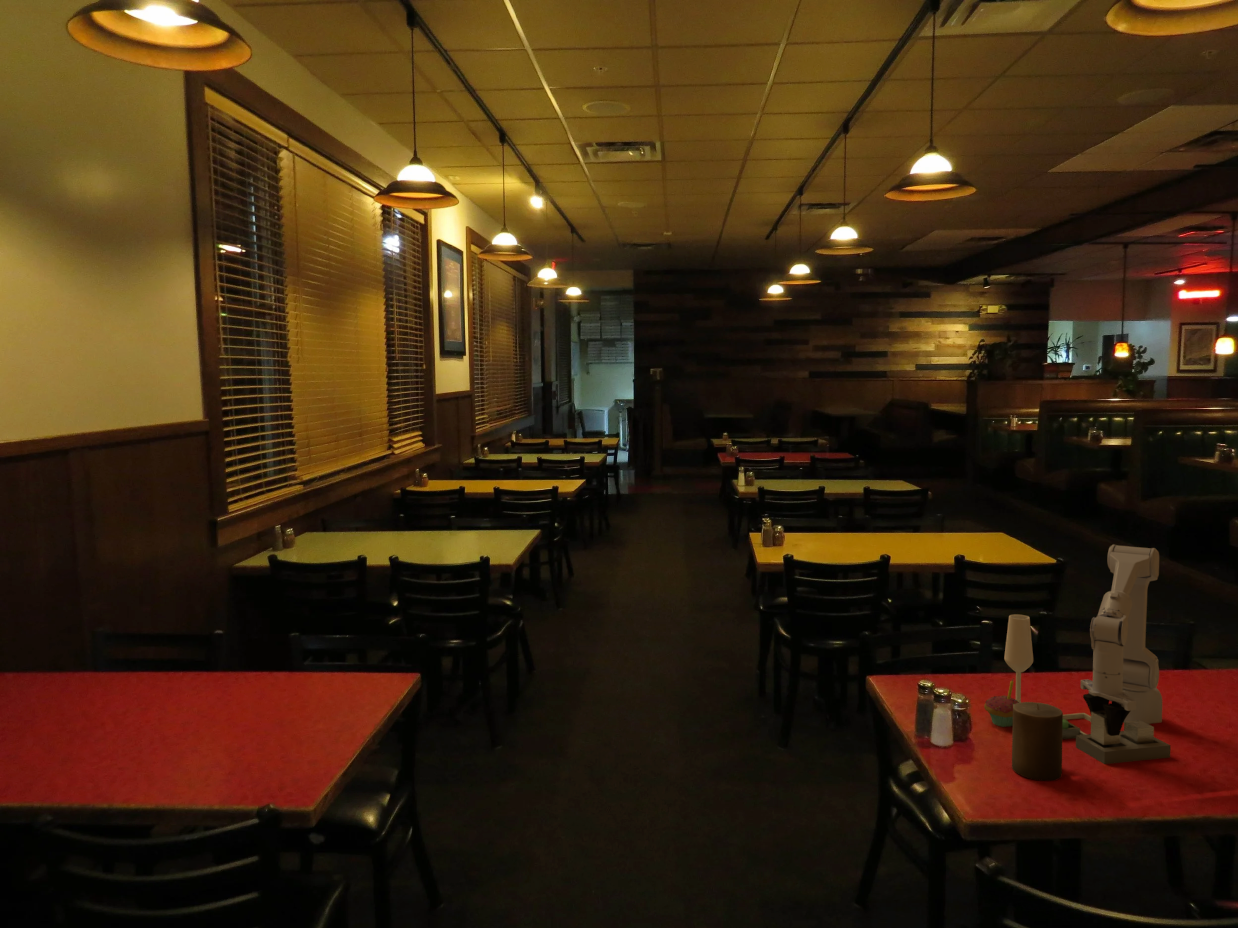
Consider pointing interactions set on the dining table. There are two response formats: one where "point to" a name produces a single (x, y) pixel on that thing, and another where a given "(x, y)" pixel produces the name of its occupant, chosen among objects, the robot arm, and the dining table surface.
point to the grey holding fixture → (1122, 750)
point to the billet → (1102, 729)
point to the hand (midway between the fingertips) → (1106, 730)
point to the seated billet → (1138, 732)
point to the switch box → (1070, 731)
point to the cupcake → (1001, 708)
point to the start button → (1065, 724)
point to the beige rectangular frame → (1076, 716)
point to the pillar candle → (1037, 741)
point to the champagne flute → (1019, 647)
